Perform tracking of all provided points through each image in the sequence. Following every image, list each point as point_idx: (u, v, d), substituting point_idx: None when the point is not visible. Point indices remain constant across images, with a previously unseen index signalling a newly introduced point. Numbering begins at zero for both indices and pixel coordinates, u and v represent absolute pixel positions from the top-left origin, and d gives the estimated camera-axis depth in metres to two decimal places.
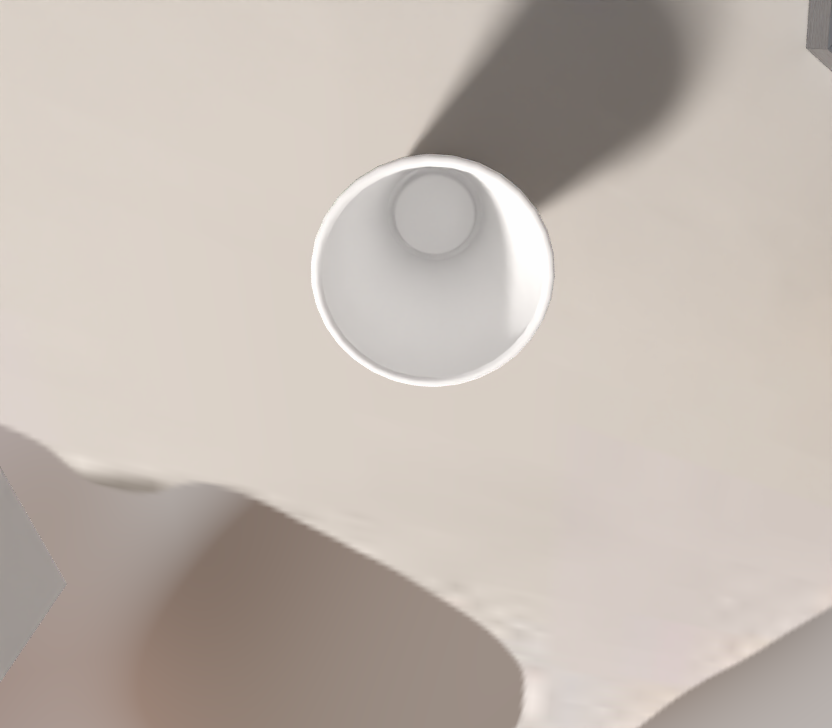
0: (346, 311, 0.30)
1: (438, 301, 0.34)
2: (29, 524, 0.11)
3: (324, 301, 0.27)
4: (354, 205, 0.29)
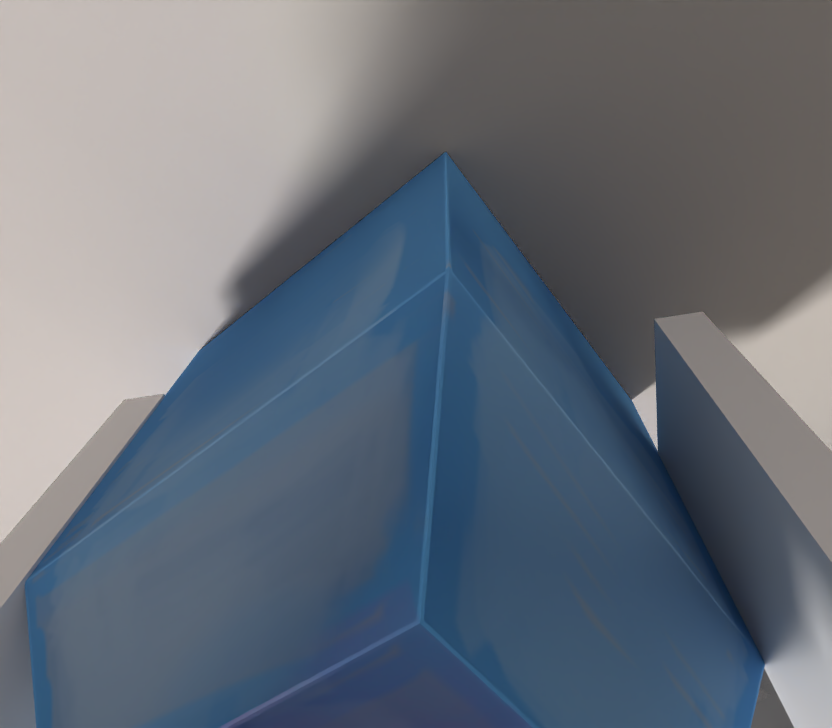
0: None
1: None
2: None
3: None
4: None
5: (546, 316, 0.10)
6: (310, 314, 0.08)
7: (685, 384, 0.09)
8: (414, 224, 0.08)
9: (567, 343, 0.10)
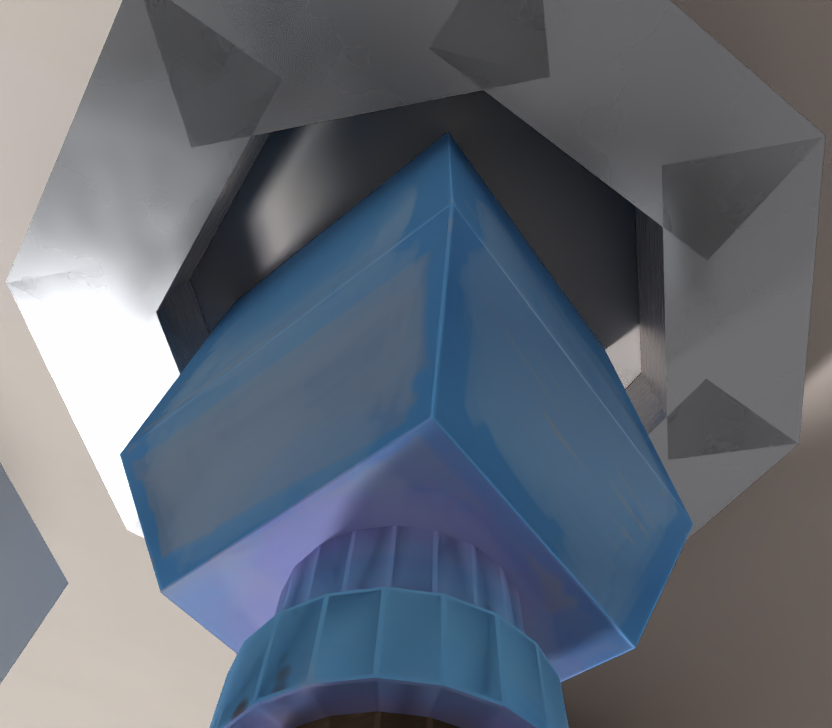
0: None
1: None
2: (31, 523, 0.11)
3: None
4: None
5: (528, 263, 0.12)
6: (341, 253, 0.11)
7: None
8: (424, 182, 0.11)
9: (546, 286, 0.12)
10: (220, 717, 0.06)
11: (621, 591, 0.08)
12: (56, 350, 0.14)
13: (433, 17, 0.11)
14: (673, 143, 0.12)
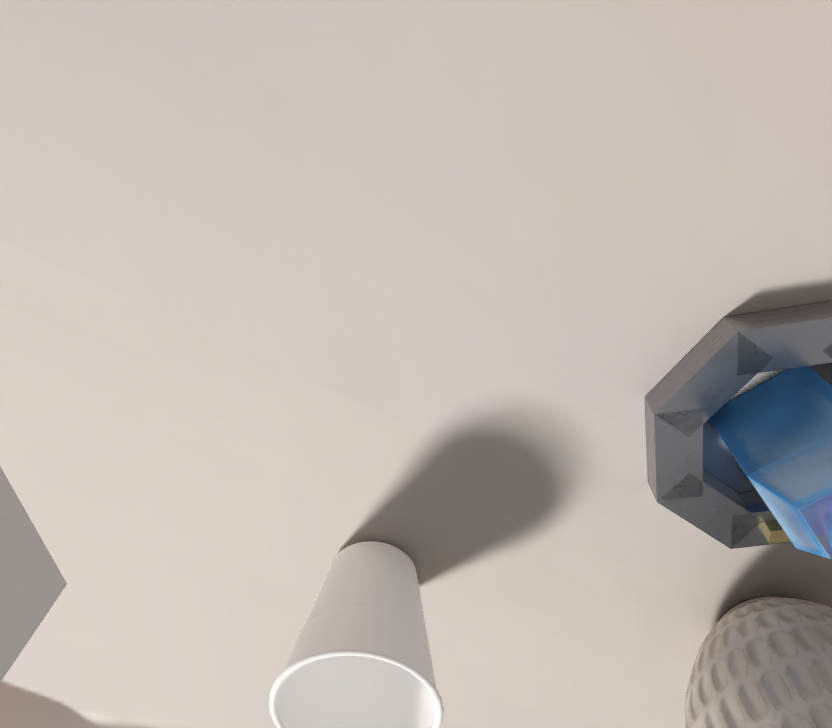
0: (298, 703, 0.40)
1: None
2: (30, 524, 0.11)
3: (279, 719, 0.38)
4: None
5: None
6: (799, 415, 0.36)
7: None
8: (825, 394, 0.36)
9: None
10: None
11: None
12: (661, 436, 0.39)
13: (825, 343, 0.36)
14: None
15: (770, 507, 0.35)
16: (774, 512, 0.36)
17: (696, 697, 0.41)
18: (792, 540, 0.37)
